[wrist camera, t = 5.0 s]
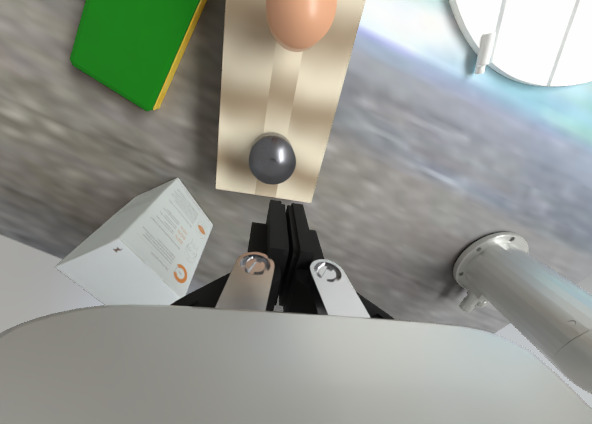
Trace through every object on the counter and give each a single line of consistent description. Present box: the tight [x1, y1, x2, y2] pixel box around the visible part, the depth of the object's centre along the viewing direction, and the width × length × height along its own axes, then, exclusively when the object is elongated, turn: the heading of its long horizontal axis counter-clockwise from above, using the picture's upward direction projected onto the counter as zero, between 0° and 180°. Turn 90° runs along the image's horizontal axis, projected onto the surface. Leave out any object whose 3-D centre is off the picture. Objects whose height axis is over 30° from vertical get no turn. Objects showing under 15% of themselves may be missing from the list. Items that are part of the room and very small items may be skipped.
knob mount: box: [216, 0, 365, 203], centre depth 21 cm, size 32×11×4 cm, turn 168°
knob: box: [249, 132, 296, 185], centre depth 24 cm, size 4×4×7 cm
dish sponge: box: [70, 0, 207, 111], centre depth 21 cm, size 7×14×2 cm, turn 143°
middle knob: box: [266, 0, 337, 52], centre depth 17 cm, size 4×4×7 cm
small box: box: [55, 178, 213, 305], centre depth 25 cm, size 8×6×13 cm
